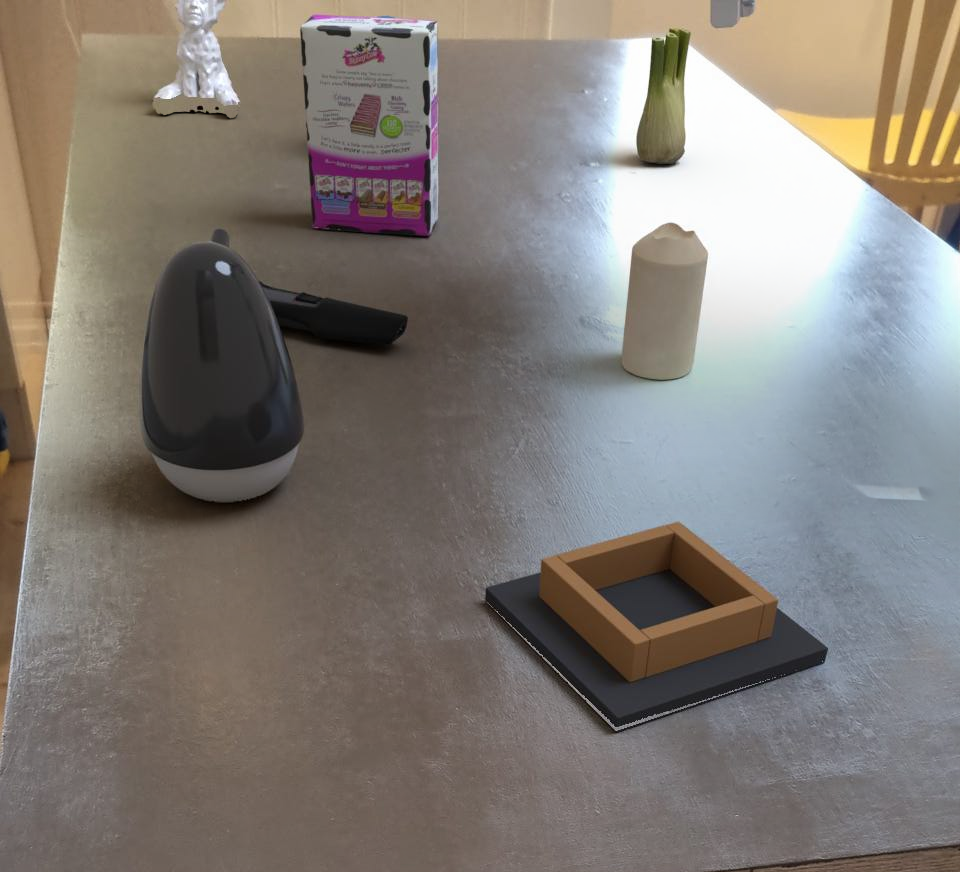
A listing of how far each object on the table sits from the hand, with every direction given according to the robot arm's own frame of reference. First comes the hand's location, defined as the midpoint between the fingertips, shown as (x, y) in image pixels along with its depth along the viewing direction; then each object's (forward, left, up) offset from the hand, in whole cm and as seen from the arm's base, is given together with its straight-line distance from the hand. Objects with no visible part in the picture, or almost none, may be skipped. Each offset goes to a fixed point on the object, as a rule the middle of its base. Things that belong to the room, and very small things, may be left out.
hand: (733, 21), depth 95 cm
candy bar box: (+13, -33, -22) cm, 41 cm away
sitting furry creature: (+14, -75, -22) cm, 79 cm away
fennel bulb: (-22, -38, -22) cm, 49 cm away
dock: (+28, +34, -22) cm, 49 cm away
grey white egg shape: (+43, +7, -22) cm, 48 cm away
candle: (+7, +4, -22) cm, 23 cm away
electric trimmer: (+28, -13, -22) cm, 37 cm away
